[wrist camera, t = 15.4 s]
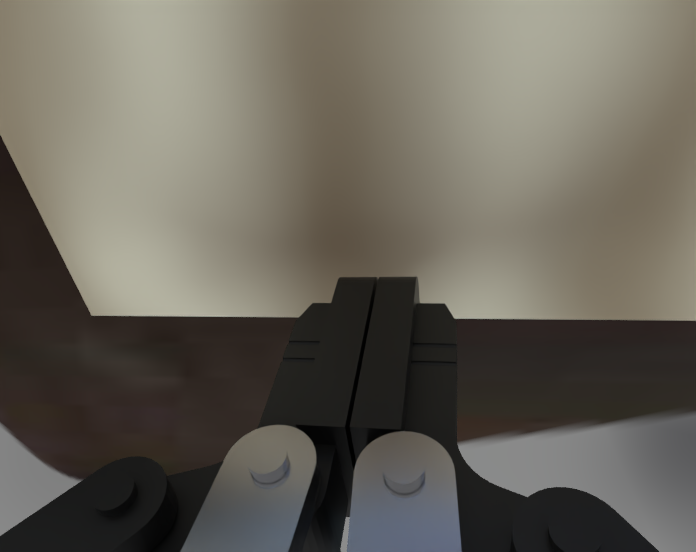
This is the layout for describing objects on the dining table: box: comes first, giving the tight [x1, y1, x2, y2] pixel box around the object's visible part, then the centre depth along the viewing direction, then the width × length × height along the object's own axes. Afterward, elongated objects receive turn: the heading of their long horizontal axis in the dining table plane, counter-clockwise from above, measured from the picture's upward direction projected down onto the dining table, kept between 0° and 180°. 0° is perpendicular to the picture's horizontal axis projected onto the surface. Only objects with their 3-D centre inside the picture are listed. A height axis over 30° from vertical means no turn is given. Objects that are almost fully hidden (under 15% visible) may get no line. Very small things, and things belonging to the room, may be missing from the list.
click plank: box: [0, 0, 696, 321], centre depth 12 cm, size 16×9×2 cm, turn 97°
